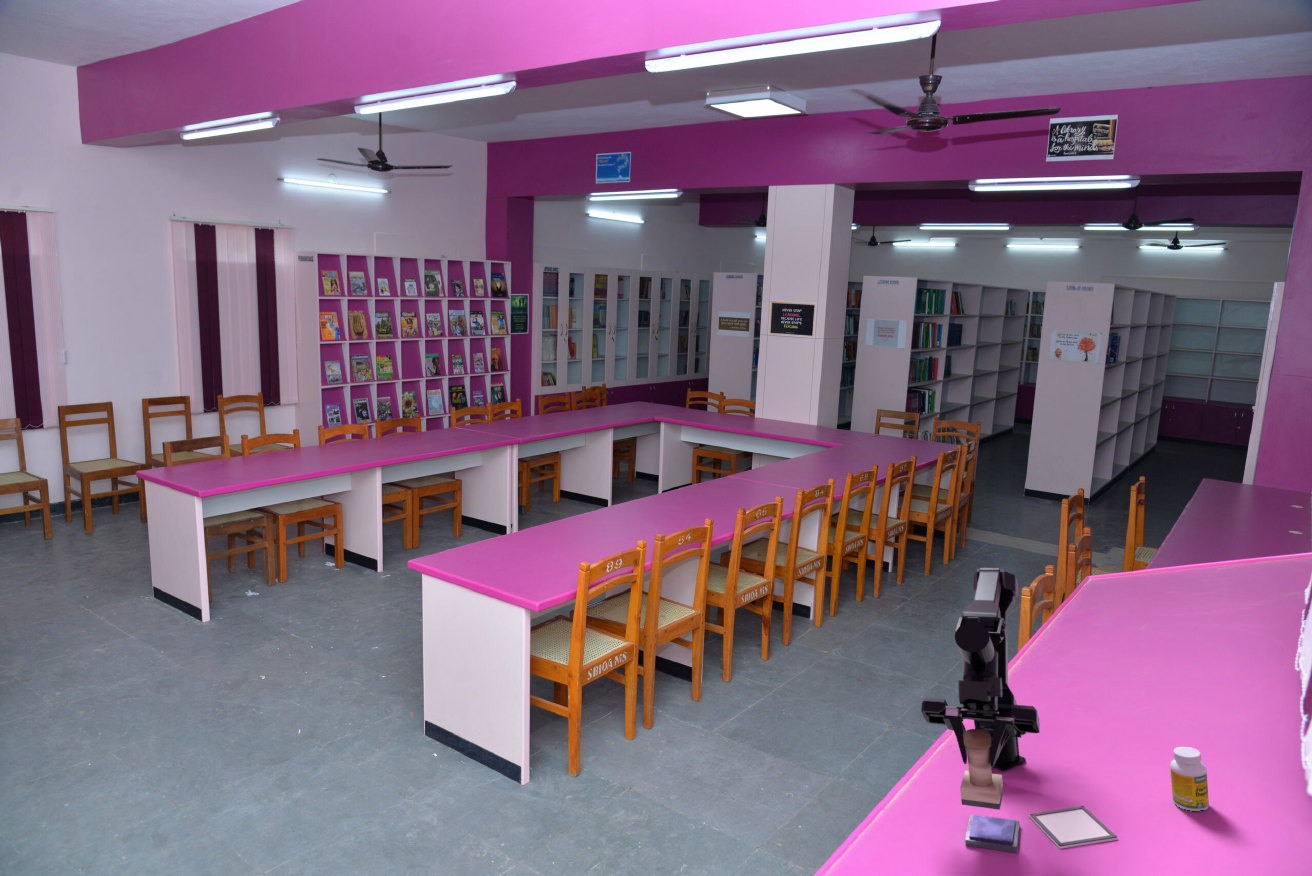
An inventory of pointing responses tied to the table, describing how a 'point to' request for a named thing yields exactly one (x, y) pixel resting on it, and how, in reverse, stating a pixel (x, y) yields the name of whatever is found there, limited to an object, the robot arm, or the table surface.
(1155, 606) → the table surface
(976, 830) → the ink pad
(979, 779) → the stamp
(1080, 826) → the marked square
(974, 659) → the robot arm
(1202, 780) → the supplement bottle
